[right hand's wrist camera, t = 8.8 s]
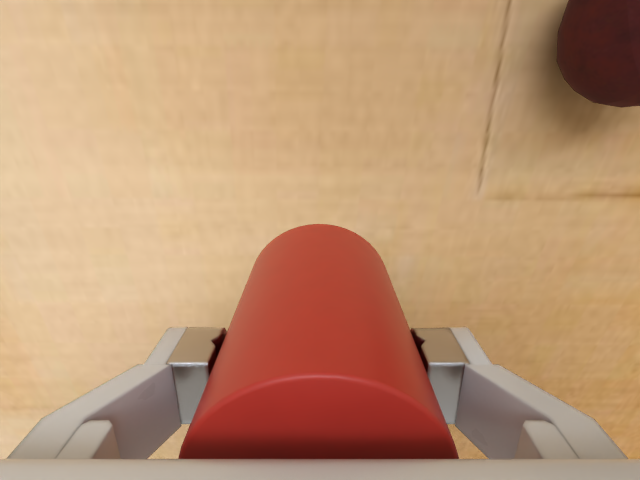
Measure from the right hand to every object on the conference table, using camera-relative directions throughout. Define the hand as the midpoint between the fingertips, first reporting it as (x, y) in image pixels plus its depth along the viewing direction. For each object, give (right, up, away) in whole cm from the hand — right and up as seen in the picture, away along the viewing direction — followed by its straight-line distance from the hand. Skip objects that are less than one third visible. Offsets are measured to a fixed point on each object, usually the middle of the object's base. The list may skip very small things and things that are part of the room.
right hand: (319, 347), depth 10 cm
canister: (0, +1, +3) cm, 4 cm away
